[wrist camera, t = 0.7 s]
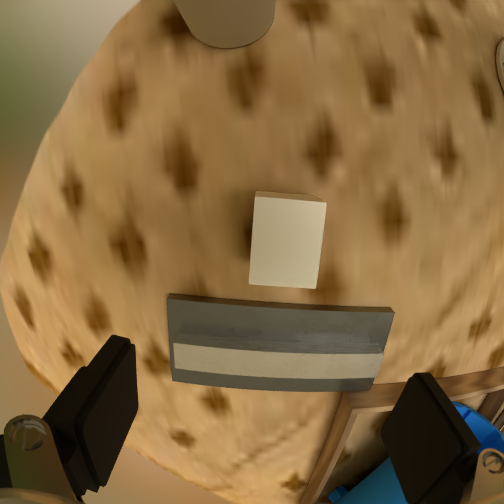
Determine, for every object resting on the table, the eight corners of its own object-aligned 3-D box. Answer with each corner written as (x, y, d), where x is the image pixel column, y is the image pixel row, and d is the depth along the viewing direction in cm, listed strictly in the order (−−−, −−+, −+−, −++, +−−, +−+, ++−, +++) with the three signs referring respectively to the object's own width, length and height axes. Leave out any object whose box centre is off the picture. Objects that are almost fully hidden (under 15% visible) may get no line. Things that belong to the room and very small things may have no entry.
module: (313, 195, 26) (327, 202, 21) (305, 266, 28) (315, 288, 23) (255, 190, 26) (254, 196, 21) (250, 262, 28) (248, 284, 23)
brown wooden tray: (504, 366, 31) (517, 380, 27) (427, 485, 40) (432, 498, 36) (344, 385, 31) (352, 408, 28) (298, 505, 40) (299, 522, 36)
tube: (447, 384, 37) (396, 413, 27) (530, 458, 20) (513, 526, 9) (362, 476, 44) (289, 512, 33) (424, 543, 27) (363, 602, 16)
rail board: (390, 307, 29) (402, 321, 26) (367, 383, 31) (375, 401, 28) (170, 293, 29) (160, 307, 26) (174, 374, 31) (168, 392, 28)
